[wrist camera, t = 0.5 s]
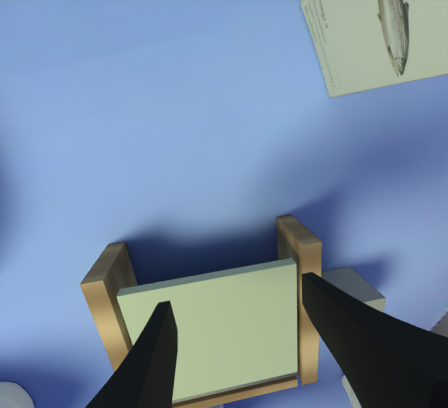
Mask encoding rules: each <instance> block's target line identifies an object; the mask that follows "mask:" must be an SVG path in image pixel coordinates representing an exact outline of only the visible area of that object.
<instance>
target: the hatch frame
mask: <svg viewBox="0 0 448 408" xmlns="http://www.w3.org/2000/svg"><path fill="white" fill-rule="evenodd" d="M276 218H277V243H278V260H283V259H289V258H292V259H293V260H294V261H295V262H296V271H297V372H298V376H299V378H300V380H301V383H302V385H305V384H310V383H314V382H317V380H318V351H319V333H318V332H317V330H316V329H315V327H314V326H313V324H312V322H311V321H310V319H309V317H308V315H307V313H306V311H305V309H304V306H303V304H302V274H303V273H308V272H313V273H315V274H317V275H318V276H320V277H321V261H322V241H321V240H320V239H319V238H317V237H316V236H315V235H314V234H313V233H312V232H311V231H309V230H308V229H307V228H306V227H305V226H304V225H303V224H301V223H300V222H299V221H298V220H297V219H296V218H295V217H293V216H292V215H287V216H281V217H276ZM80 286H81V289H82V291H83V294H84V296H85V299H86V301H87V304H88V306H89V309H90V311H91V314H92V316H93V319H94V321H95V324H96V326H97V329H98V331H99V334H100V337H101V339H102V342H103V344H104V347H105V349H106V352H107V354H108V357H109V359H110V362H111V364H112V367H113V369H114V372H115V371H116V370H117V368H118V367H119V366H120V364H121V363H122V361H123V360H124V359H125V357H126V356H127V354H128V353H129V351H130V350H131V348H132V346H133V344H132V341H131V338H130V335H129V332H128V329H127V326H126V323H125V320H124V317H123V315H122V312H121V309H120V306H119V303H118V300H117V294H118V292H119V290H120V289H123V288H128V287H134V286H138V284H137V281H136V277H135V274H134V270H133V267H132V264H131V260H130V257H129V253H128V250H127V247H126V243H125V242H121V243H115V244H109V245H107V247H106V248H105V250H104V251H103V252H102V254H101V255H100V257H99V258H98V259H97V261H96V262H95V264H94V265H93V266H92V268H91V269H90V271H89V272H88V273H87V275H86V276H85V278H84V279H83V281H82V282H81V283H80ZM297 386H298V379H297V377H296V375H295V376H290V377H286V378H282V379H277V380H273V381H269V382H264V383H260V384H256V385H251V386H247V387H242V388H238V389H234V390H229V391H225V392H221V393H216V394H212V395H208V396H203V397H199V398H194V399H190V400H186V401H181V402H177V403H173V404H172V408H207V407H211V406H216V405H220V404H224V403H228V402H233V401H237V400H241V399H246V398H250V397H254V396H258V395H263V394H267V393H271V392H275V391H280V390H284V389H288V388H293V387H297Z"/></svg>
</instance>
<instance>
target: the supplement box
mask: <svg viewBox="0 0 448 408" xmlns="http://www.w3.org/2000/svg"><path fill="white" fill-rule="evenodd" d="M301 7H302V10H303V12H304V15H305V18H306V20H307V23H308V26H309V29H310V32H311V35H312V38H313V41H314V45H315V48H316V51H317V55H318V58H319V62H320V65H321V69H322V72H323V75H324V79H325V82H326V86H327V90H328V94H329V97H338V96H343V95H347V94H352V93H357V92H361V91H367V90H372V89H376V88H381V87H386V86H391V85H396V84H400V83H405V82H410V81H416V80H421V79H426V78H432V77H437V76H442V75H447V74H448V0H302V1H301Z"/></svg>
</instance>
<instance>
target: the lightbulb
mask: <svg viewBox="0 0 448 408" xmlns="http://www.w3.org/2000/svg"><path fill="white" fill-rule="evenodd" d="M342 384H343V386H344V388H345V390H346V392H347V394H348V395H349V397H350V398H349V399H350V403H351V405H352V407H353V408H362V407H361V405H360V403H359V401H358V399H357V397H356V395H355V393H354V391H353V390H352V388H351V386H350V384H349V382H348V380H347V378H346V376H345V375H344V376H343V377H342Z"/></svg>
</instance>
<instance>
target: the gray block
mask: <svg viewBox="0 0 448 408" xmlns="http://www.w3.org/2000/svg"><path fill="white" fill-rule="evenodd" d="M321 278H323V279H325V280H326V281H328V282H329V283H331V284H333V285H334V286H336V287H337V288H339V289H341V290H342V291H344V292H346V293H347V294H349V295H351V296H352V297H354V298H356V299H358V300H360V301H362V302H363V303H365V304H367V305H369V306H371V307H373V308H375V309H377V310H379V311H381V312H384V306H385V299H386V298H385V297H384V296H383V295H382V294H381V293H380V292H378V291H377V290H376V289H375V288H374V287H373V286H372V285H370V284H369V283H368V282H367V281H366V280H365V279H364V278H363V277H361V276H360V275H359V274H358V273H357V272H356V271H355V270H353V269H352V268H351V267H350V266H348V267H343V268H338V269H333V270H327V271H322V272H321Z"/></svg>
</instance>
